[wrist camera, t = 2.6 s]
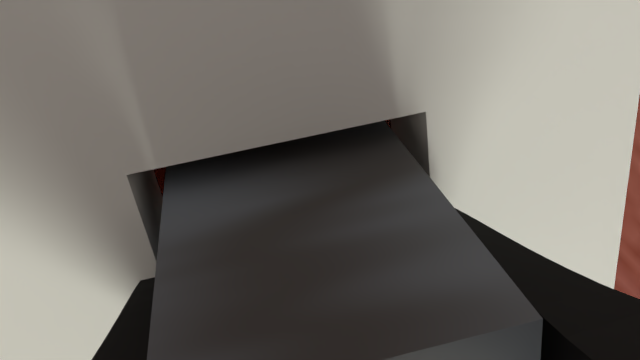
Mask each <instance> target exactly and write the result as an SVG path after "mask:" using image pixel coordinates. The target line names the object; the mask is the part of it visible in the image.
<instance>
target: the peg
mask: <svg viewBox="0 0 640 360" xmlns="http://www.w3.org/2000/svg"><path fill="white" fill-rule="evenodd" d="M542 326H543V318H542V317H541V316H540V315H539V313H538V312H537V311H536V310H535V308H534V307H533V306H532V305H531V303H530V302H529V301H528V300H527V298H526V297H525V296H524V294H523V293H522V292H521V291H520V289H519V288H518V287H517V286H516V284H515V283H514V282H513V281H512V279H511V278H510V277H509V276H508V274H507V273H506V272H505V271H504V269H503V268H502V267H501V266H500V264H499V263H498V262H497V261H496V259H495V258H494V257H493V256H492V254H491V253H490V252H489V251H488V249H487V248H486V247H485V246H484V244H483V243H482V242H481V241H480V239H479V238H478V237H477V236H476V234H475V233H474V232H473V231H472V229H471V228H470V227H469V226H468V224H467V223H466V222H465V221H464V219H463V218H462V217H461V216H460V214H459V213H458V212H457V211H456V209H455V208H454V207H453V206H452V204H451V203H450V202H449V201H448V199H447V198H446V197H445V196H444V194H443V193H442V192H441V191H440V189H439V188H438V187H437V186H436V184H435V183H434V182H433V181H432V179H431V178H430V177H429V176H428V174H427V173H426V172H425V171H424V169H423V168H422V167H421V166H420V164H419V163H418V162H417V161H416V159H415V158H414V157H413V156H412V154H411V153H410V152H409V151H408V149H407V148H406V147H405V146H404V144H403V143H402V142H401V141H400V139H399V138H398V137H397V136H396V134H395V133H394V132H393V131H392V129H391V128H390V127H389V126H388V124H387V123H386V122H385V121H380V122H375V123H370V124H365V125H361V126H356V127H351V128H346V129H342V130H337V131H332V132H328V133H323V134H318V135H313V136H309V137H304V138H299V139H294V140H290V141H285V142H280V143H275V144H271V145H266V146H261V147H257V148H252V149H247V150H242V151H238V152H233V153H228V154H223V155H219V156H214V157H209V158H204V159H200V160H195V161H190V162H186V163H181V164H176V165H171V166H167V167H166V172H165V182H164V192H163V202H162V212H161V222H160V232H159V242H158V252H157V262H156V272H155V282H154V292H153V302H152V312H151V322H150V332H149V342H148V353H147V360H541V343H542Z"/></svg>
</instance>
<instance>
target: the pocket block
mask: <svg viewBox="0 0 640 360" xmlns="http://www.w3.org/2000/svg"><path fill="white" fill-rule="evenodd" d="M639 94H640V0H0V360H92V358H93V357H94V355H95V354H96V352H97V350H98V349H99V347H100V346H101V344H102V343H103V341H104V339H105V338H106V336H107V335H108V333H109V331H110V330H111V328H112V326H113V325H114V323H115V321H116V320H117V318H118V316H119V314H120V313H121V311H122V309H123V308H124V306H125V304H126V303H127V301H128V299H129V297H130V296H131V294H132V292H133V291H134V289H135V287H136V286H137V285H138V283H139V282H140V280H145V279H149V278H153V277H155V272H156V262H157V252H158V242H159V232H160V222H161V212H162V202H163V197H162V194H161V191H160V188H159V185H158V182H157V179H156V175H155V172H154V169H157V168H162V167H167V166H171V165H176V164H181V163H186V162H190V161H195V160H200V159H204V158H209V157H214V156H219V155H223V154H228V153H233V152H238V151H242V150H247V149H252V148H257V147H261V146H266V145H271V144H275V143H280V142H285V141H290V140H294V139H299V138H304V137H309V136H313V135H318V134H323V133H328V132H332V131H337V130H342V129H346V128H351V127H356V126H361V125H365V124H370V123H375V122H380V121H384V120H389V119H390V121H391V129H392V131H393V132H394V133H395V134H396V136H397V137H398V138H399V139H400V141H401V142H402V143H403V144H404V146H405V147H406V148H407V149H408V151H409V152H410V153H411V154H412V156H413V157H414V158H415V159H416V161H417V162H418V163H419V164H420V166H421V167H422V168H423V169H424V171H425V172H426V173H427V174H428V176H429V177H430V178H431V179H432V181H433V182H434V183H435V184H436V186H437V187H438V188H439V189H440V191H441V192H442V193H443V194H444V196H445V197H446V198H447V199H448V201H449V202H450V203H451V204H452V206H453V207H454V208H456V209H458V210H460V211H462V212H464V213H465V214H467V215H469V216H471V217H473V218H474V219H476V220H478V221H480V222H482V223H483V224H485V225H487V226H489V227H490V228H492V229H494V230H496V231H497V232H499V233H501V234H503V235H505V236H506V237H508V238H510V239H512V240H514V241H515V242H517V243H519V244H521V245H523V246H525V247H526V248H528V249H530V250H532V251H534V252H536V253H538V254H540V255H542V256H544V257H546V258H547V259H549V260H551V261H553V262H555V263H558V264H560V265H562V266H564V267H566V268H568V269H570V270H572V271H574V272H576V273H579V274H581V275H583V276H585V277H587V278H589V279H592V280H594V281H596V282H598V283H600V284H603V285H605V286H607V287H610V288H612V289H614V283H615V276H616V268H617V261H618V253H619V246H620V238H621V230H622V223H623V215H624V208H625V200H626V193H627V185H628V177H629V170H630V162H631V155H632V147H633V140H634V132H635V124H636V117H637V109H638V102H639Z"/></svg>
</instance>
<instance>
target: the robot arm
mask: <svg viewBox="0 0 640 360" xmlns="http://www.w3.org/2000/svg"><path fill="white" fill-rule="evenodd" d="M455 209H456V208H455ZM456 211H457V212H458V213H459V214H460V216H461V217H462V218H463V219H464V221H465V222H466V223H467V224H468V226H469V227H470V228H471V229H472V231H473V232H474V233H475V234H476V236H477V237H478V238H479V239H480V241H481V242H482V243H483V244H484V246H485V247H486V248H487V249H488V251H489V252H490V253H491V254H492V256H493V257H494V258H495V259H496V261H497V262H498V263H499V264H500V266H501V267H502V268H503V269H504V271H505V272H506V273H507V274H508V276H509V277H510V278H511V279H512V281H513V282H514V283H515V284H516V286H517V287H518V288H519V289H520V291H521V292H522V293H523V294H524V296H525V297H526V298H527V300H528V301H529V302H530V303H531V305H532V306H533V307H534V308H535V310H536V311H537V312H538V313H539V315H540V316H541V317H542V318H543V326H542V343H541V360H640V299H637V298H635V297H632V296H630V295H627V294H624V293H622V292H619V291H617V290H614V289H612V288H610V287H607V286H605V285H603V284H600V283H598V282H596V281H594V280H592V279H589V278H587V277H585V276H583V275H581V274H579V273H576V272H574V271H572V270H570V269H568V268H566V267H564V266H562V265H560V264H558V263H555V262H553V261H551V260H549V259H547V258H546V257H544V256H542V255H540V254H538V253H536V252H534V251H532V250H530V249H528V248H526V247H525V246H523V245H521V244H519V243H517V242H515V241H514V240H512V239H510V238H508V237H506V236H505V235H503V234H501V233H499V232H497V231H496V230H494V229H492V228H490V227H489V226H487V225H485V224H483V223H482V222H480V221H478V220H476V219H474V218H473V217H471V216H469V215H467V214H465V213H464V212H462V211H460V210H458V209H456ZM154 282H155V277H153V278H149V279H145V280H140V282H139V283H138V285H137V286H136V287H135V289H134V291H133V292H132V294H131V296H130V297H129V299H128V301H127V303H126V304H125V306H124V308H123V309H122V311H121V313H120V314H119V316H118V318H117V320H116V321H115V323H114V325H113V326H112V328H111V330H110V331H109V333H108V335H107V336H106V338H105V339H104V341H103V343H102V344H101V346H100V347H99V349H98V350H97V352H96V354H95V355H94V357H93V358H92V360H147V353H148V342H149V332H150V322H151V312H152V302H153V292H154Z"/></svg>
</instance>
